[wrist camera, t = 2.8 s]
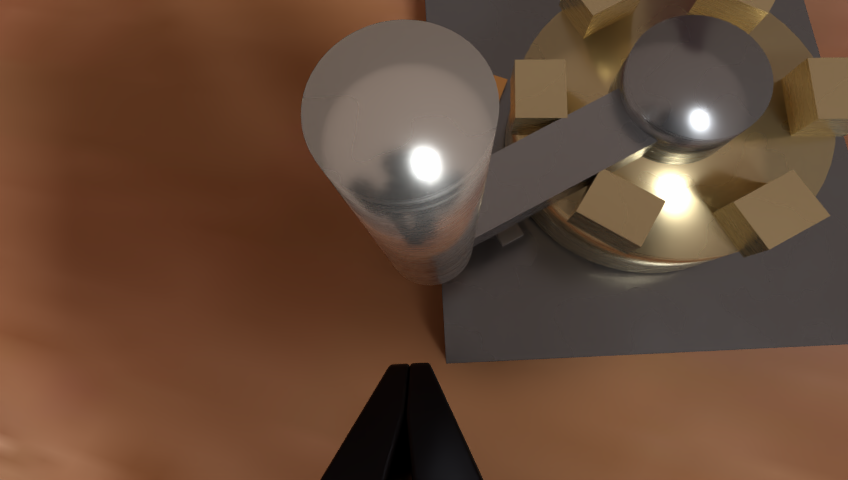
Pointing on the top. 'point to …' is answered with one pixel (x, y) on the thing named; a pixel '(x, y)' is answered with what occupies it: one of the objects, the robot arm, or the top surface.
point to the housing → (630, 291)
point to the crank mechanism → (583, 135)
